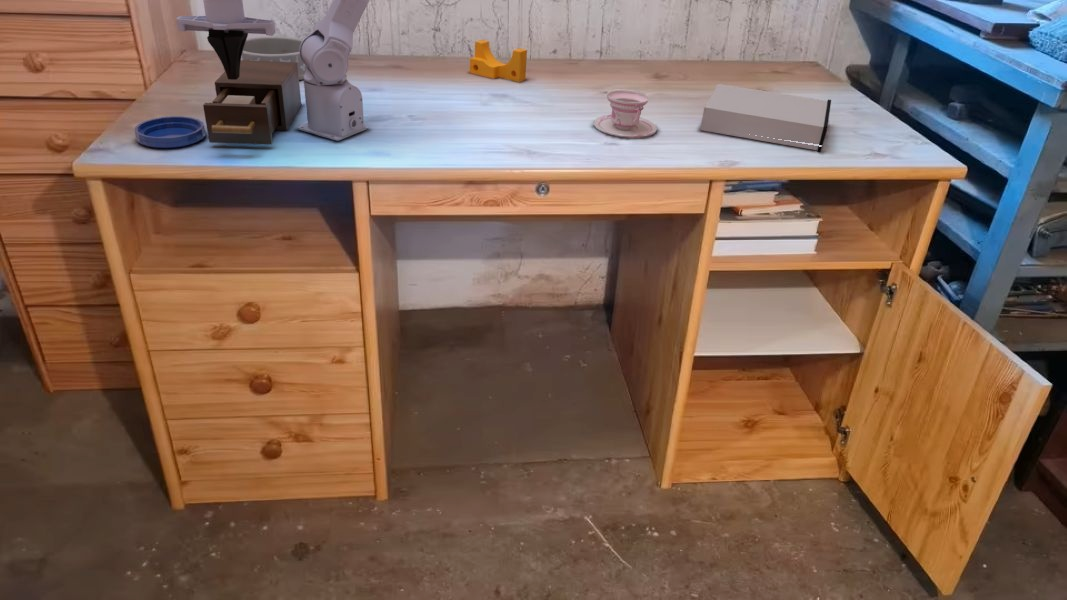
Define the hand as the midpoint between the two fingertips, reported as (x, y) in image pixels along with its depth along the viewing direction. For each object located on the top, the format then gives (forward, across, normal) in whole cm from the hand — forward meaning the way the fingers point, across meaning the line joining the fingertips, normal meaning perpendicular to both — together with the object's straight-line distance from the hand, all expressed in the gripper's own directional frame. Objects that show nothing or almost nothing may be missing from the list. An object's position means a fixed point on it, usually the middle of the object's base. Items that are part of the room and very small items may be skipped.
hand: (233, 77), depth 128 cm
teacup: (+10, +68, +12) cm, 70 cm away
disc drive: (+10, +96, +14) cm, 98 cm away
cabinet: (+10, +1, +11) cm, 15 cm away
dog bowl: (+10, -3, +40) cm, 42 cm away
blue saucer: (+10, -11, -2) cm, 15 cm away
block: (+8, 0, 0) cm, 8 cm away
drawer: (+9, +1, -1) cm, 9 cm away
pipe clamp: (+10, +45, +43) cm, 63 cm away
